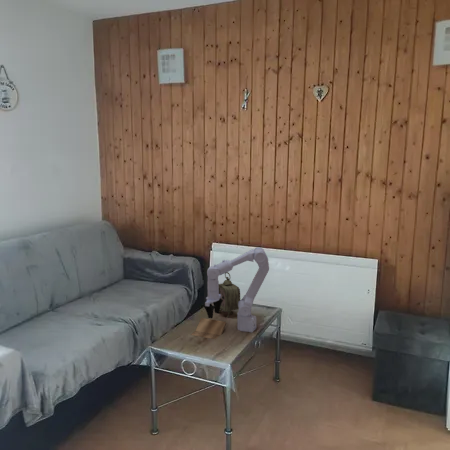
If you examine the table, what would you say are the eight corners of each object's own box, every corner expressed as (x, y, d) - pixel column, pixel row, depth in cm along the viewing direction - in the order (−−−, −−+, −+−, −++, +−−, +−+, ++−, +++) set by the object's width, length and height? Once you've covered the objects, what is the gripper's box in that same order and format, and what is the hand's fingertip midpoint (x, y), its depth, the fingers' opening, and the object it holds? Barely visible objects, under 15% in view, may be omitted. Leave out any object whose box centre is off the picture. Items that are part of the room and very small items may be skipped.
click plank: (226, 323, 223) (225, 321, 222) (220, 336, 218) (220, 335, 217) (201, 319, 229) (201, 317, 228) (196, 332, 223) (195, 330, 223)
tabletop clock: (216, 311, 253) (215, 270, 249) (230, 309, 257) (229, 268, 253) (226, 320, 240) (226, 276, 236) (241, 317, 244) (241, 274, 240)
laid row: (220, 337, 217) (220, 335, 217) (215, 341, 212) (215, 339, 212) (195, 333, 223) (195, 331, 222) (190, 336, 218) (190, 334, 218)
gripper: (212, 285, 229) (213, 309, 232) (199, 293, 217) (200, 319, 219) (224, 286, 227) (225, 311, 229) (212, 294, 214) (212, 321, 216)
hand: (213, 315), depth 223 cm, fingers open, 7 cm apart
